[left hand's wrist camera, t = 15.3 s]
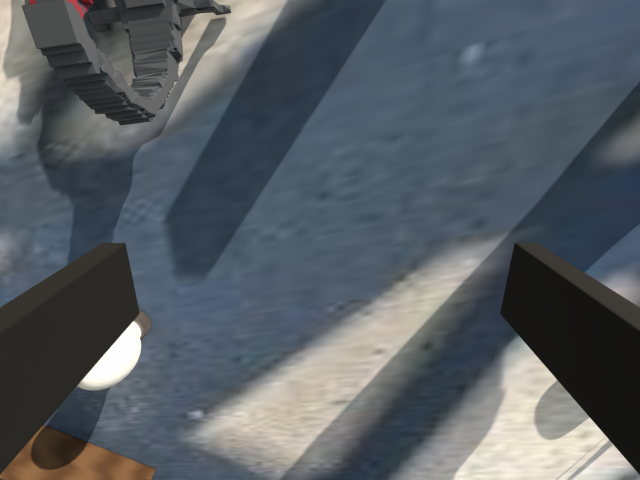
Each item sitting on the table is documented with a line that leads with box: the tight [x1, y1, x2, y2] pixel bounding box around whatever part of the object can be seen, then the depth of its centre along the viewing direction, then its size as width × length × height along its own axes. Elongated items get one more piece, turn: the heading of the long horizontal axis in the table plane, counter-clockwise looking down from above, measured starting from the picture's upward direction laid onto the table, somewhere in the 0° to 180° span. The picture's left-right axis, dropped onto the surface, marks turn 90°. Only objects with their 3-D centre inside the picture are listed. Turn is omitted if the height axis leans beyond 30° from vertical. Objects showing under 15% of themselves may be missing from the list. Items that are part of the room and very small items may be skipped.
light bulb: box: [78, 311, 151, 390], centre depth 42 cm, size 7×7×11 cm
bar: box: [0, 425, 156, 480], centre depth 52 cm, size 24×5×8 cm, turn 59°
